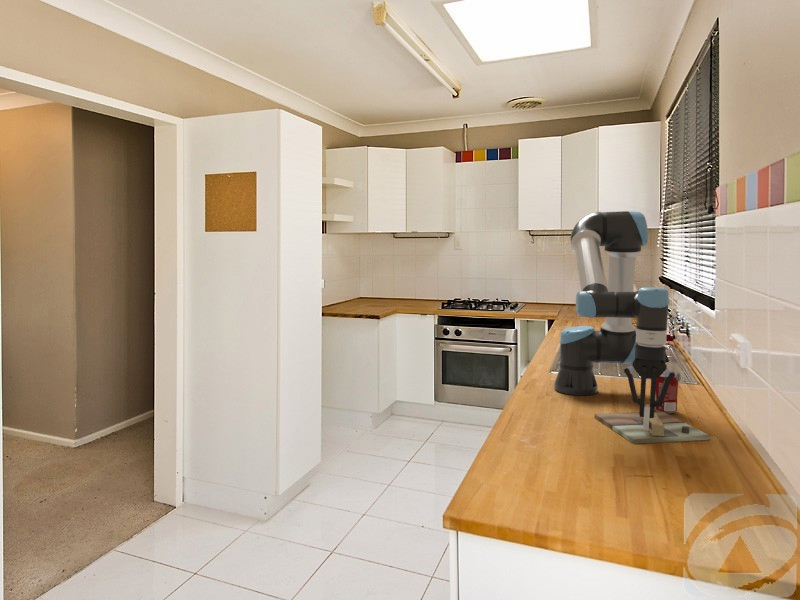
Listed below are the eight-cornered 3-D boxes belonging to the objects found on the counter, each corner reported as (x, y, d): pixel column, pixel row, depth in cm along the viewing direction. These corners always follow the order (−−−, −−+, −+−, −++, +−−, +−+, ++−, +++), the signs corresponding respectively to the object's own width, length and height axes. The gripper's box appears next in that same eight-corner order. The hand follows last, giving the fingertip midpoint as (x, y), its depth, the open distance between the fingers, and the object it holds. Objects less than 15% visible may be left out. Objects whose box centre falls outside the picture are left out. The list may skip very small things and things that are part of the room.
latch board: (594, 417, 164) (594, 409, 164) (661, 414, 166) (661, 406, 166) (633, 443, 142) (633, 433, 142) (709, 439, 145) (710, 430, 144)
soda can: (679, 415, 166) (681, 377, 165) (656, 414, 167) (657, 376, 166) (673, 408, 172) (674, 372, 171) (650, 407, 174) (652, 371, 173)
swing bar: (639, 419, 157) (640, 407, 156) (654, 420, 156) (654, 408, 155) (649, 435, 144) (650, 421, 144) (665, 436, 143) (666, 422, 143)
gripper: (624, 345, 143) (620, 429, 146) (678, 349, 138) (672, 436, 141) (625, 340, 150) (620, 421, 153) (676, 344, 145) (671, 427, 148)
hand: (645, 428), depth 147 cm, fingers closed
